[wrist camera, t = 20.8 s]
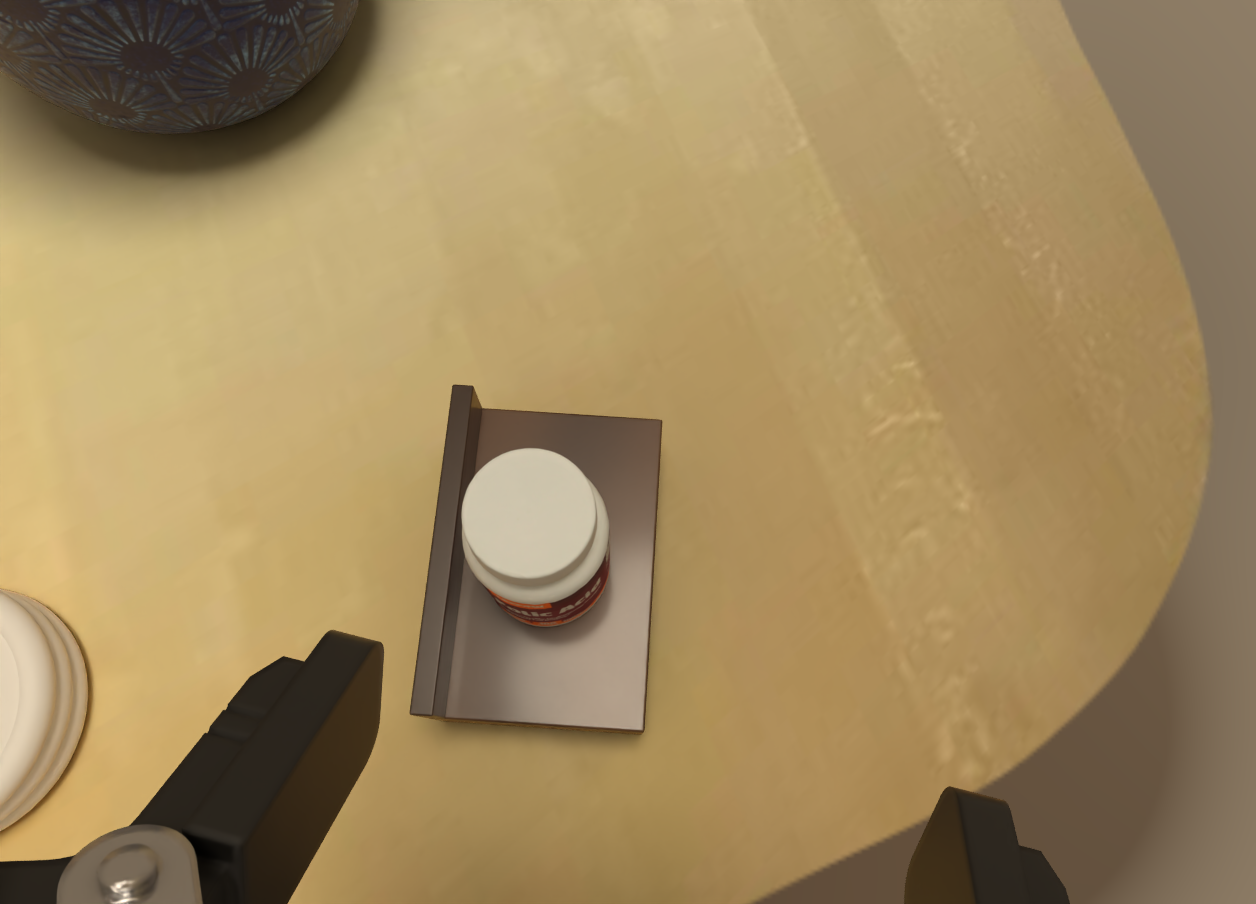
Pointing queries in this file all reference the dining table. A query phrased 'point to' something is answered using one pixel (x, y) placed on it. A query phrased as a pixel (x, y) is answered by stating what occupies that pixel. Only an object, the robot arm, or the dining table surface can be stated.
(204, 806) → the robot arm
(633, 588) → the shelf
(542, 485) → the pill bottle
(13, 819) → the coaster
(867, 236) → the dining table surface
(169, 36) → the planter
